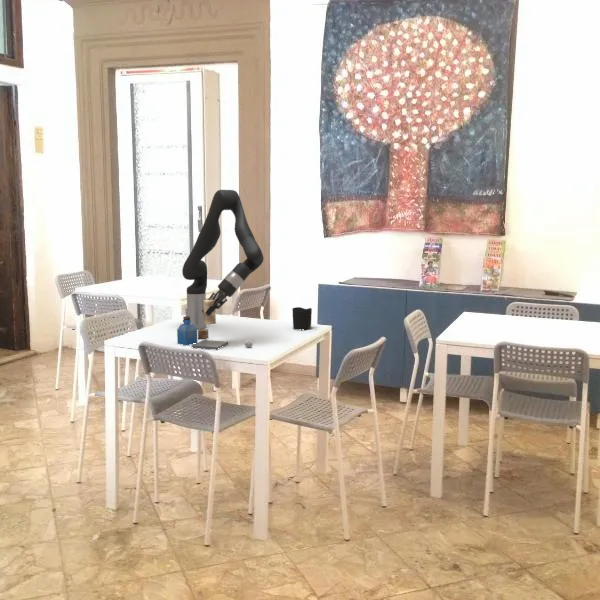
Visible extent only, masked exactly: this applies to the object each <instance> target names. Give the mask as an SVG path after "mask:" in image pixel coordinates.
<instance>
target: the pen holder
mask: <svg viewBox="0 0 600 600" xmlns="http://www.w3.org/2000/svg"><path fill="white" fill-rule="evenodd" d="M312 310H313V309H312V307H309V308H304V307H301V306H297V307H293V308H292V310H291V311H292V328H293V329H294V328H295V329H309V330H311V328H312ZM295 329H294V330H295Z"/></svg>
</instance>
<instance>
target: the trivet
mask: <svg viewBox="0 0 600 600" xmlns="http://www.w3.org/2000/svg"><path fill="white" fill-rule="evenodd" d="M227 344H228V345H229V341H227V340H226V341H225V340H224V341H223V340H211V339H209V340H208V339H201V340H200V341H197V343H196V344H192V345H190V346H191V348H192V347H193V348H192V349H197V348H201V349H200V350H210V349H218V348H220V347H222V346H224V347H225V345H226V346H228V345H227ZM203 348H205V349H203ZM222 348H223V347H222ZM220 349H221V348H220ZM218 350H219V349H218Z"/></svg>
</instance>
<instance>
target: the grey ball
mask: <svg viewBox="0 0 600 600" xmlns="http://www.w3.org/2000/svg"><path fill="white" fill-rule="evenodd" d="M244 345H245V347H247V348H251V347H252V346H253V341H252V340H250V339H248V340H246V341H245V342H244Z"/></svg>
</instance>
